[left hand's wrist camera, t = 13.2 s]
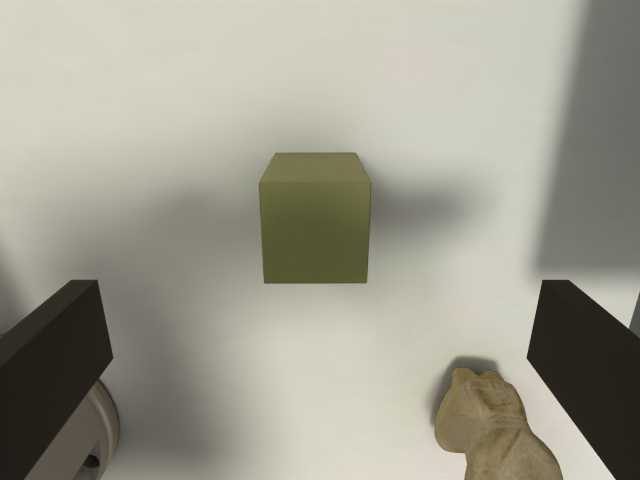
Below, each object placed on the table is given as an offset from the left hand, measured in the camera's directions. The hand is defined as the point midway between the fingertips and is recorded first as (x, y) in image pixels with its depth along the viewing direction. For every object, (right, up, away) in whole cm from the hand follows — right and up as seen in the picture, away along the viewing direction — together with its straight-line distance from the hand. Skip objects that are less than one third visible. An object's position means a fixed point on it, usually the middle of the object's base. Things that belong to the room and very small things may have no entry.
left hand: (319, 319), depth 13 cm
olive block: (0, +5, +14) cm, 15 cm away
